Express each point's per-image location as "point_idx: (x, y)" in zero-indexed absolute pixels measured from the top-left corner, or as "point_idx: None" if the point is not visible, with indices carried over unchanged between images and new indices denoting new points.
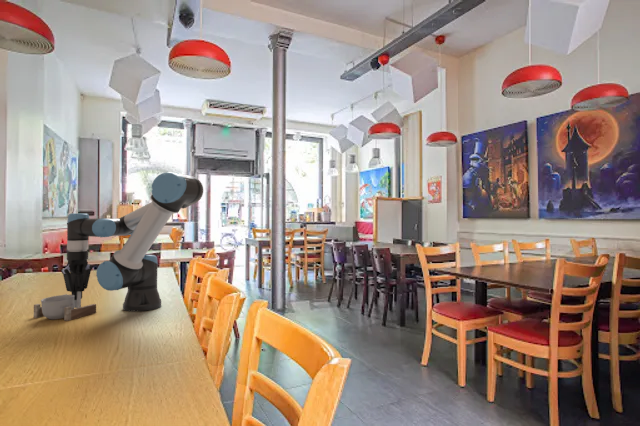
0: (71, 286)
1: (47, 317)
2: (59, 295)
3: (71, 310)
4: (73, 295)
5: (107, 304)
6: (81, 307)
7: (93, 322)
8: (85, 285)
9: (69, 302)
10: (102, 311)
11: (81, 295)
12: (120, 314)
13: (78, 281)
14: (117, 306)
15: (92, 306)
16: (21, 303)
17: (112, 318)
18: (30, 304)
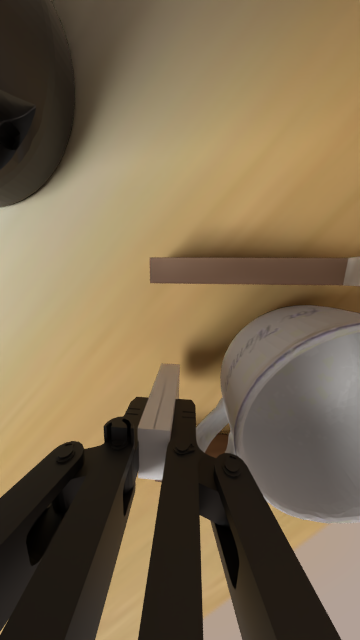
0: (261, 524)
1: (339, 372)
2: (265, 496)
3: (339, 263)
4: (265, 383)
5: (17, 350)
6: (251, 273)
7: (342, 76)
8: (54, 478)
9: (344, 315)
10: (126, 254)
11: (132, 411)
12: (144, 77)
13: (91, 614)
14: (21, 267)
15: (179, 259)
16: (136, 624)
17: (237, 35)
18: (136, 596)
